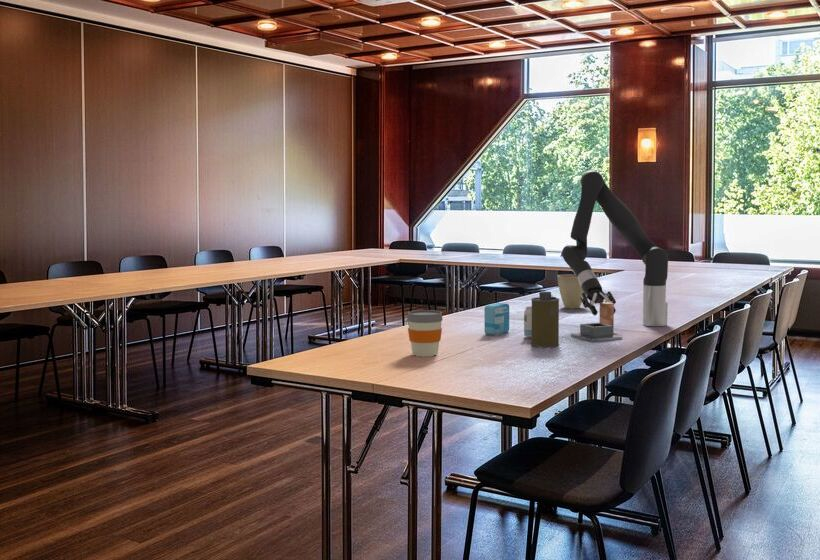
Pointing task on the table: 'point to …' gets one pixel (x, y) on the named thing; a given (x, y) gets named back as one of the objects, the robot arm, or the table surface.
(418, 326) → the reusable coffee cup
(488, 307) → the data package
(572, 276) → the plant pot
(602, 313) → the terracotta peg
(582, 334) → the socket plate
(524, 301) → the table surface
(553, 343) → the canister
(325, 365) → the table surface
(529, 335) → the beverage can
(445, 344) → the table surface
